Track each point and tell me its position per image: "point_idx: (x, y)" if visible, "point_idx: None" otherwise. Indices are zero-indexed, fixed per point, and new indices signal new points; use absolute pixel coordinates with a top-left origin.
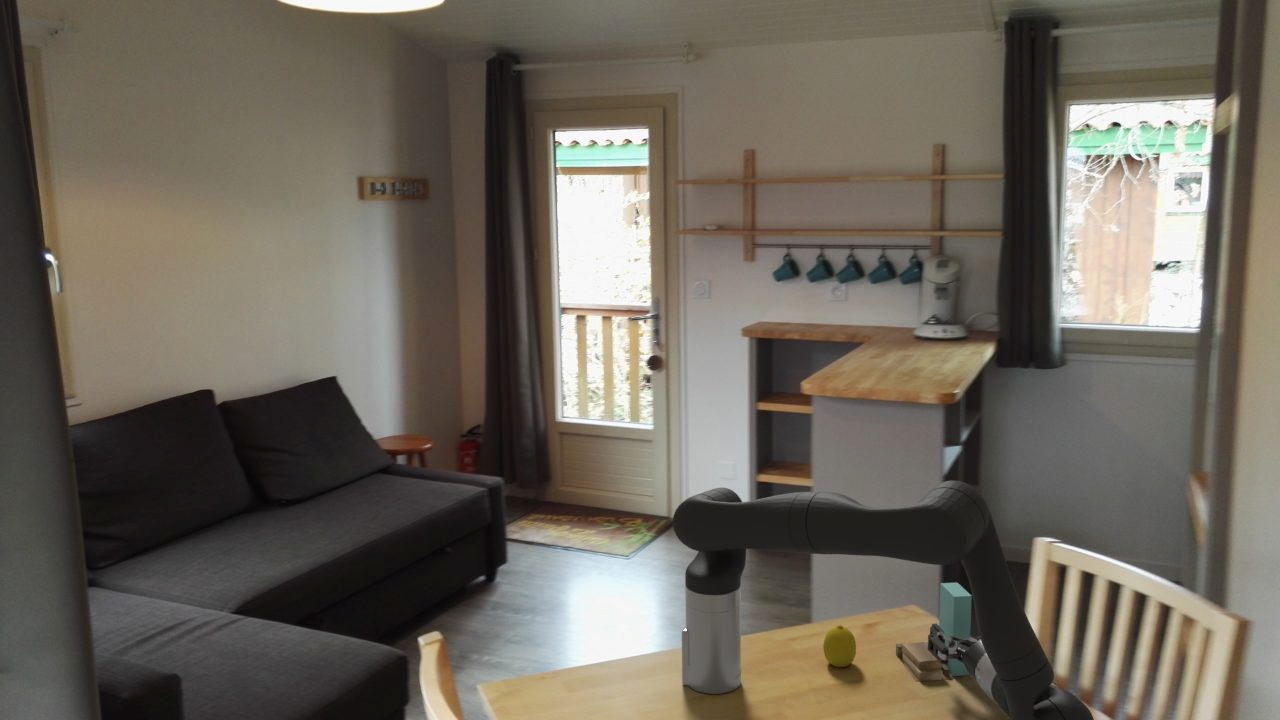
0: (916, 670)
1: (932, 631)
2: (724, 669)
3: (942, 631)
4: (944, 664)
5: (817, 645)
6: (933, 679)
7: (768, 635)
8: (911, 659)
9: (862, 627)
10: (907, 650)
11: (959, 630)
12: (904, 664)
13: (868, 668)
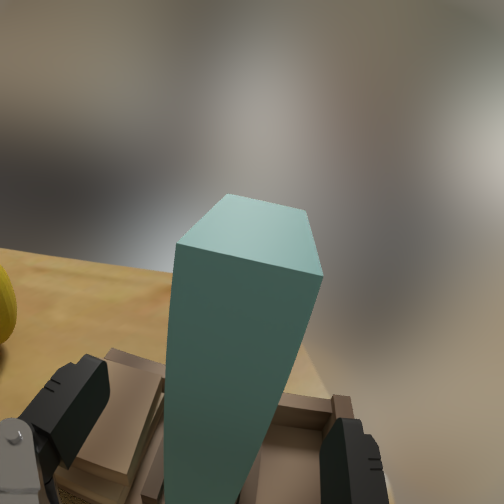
0: None
1: (44, 390)
2: None
3: (46, 424)
4: (163, 470)
5: (47, 290)
6: (92, 499)
7: (27, 255)
8: None
9: (158, 289)
10: None
11: (199, 435)
12: None
13: (36, 371)
